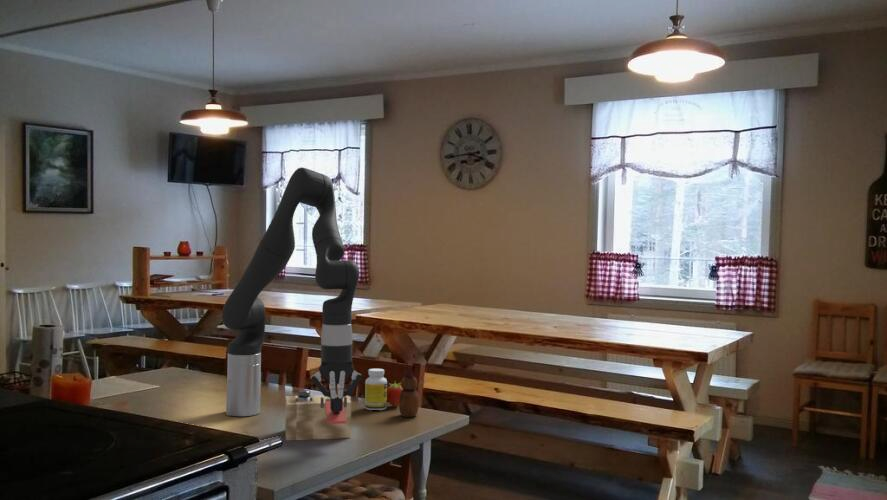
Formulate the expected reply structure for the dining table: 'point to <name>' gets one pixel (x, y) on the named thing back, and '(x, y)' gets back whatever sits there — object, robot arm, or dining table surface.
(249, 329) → the robot arm
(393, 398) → the fruit
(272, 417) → the dining table surface
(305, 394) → the steel pin
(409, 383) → the wooden figurine
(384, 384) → the pill bottle
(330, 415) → the keeper tab
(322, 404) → the hitch block
